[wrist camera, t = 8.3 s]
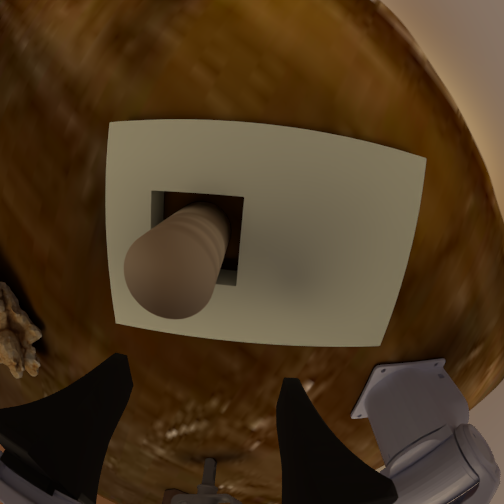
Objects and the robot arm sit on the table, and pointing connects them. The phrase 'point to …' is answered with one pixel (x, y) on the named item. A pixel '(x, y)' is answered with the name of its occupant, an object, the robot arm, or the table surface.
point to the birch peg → (178, 261)
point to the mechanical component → (205, 489)
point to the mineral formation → (17, 335)
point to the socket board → (272, 226)
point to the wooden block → (170, 495)
